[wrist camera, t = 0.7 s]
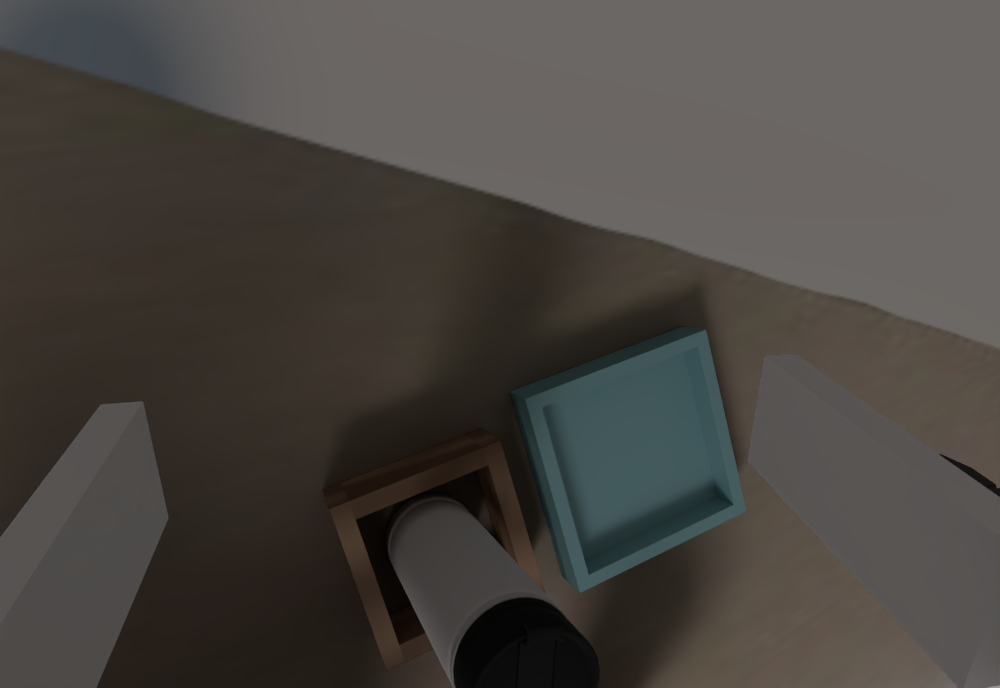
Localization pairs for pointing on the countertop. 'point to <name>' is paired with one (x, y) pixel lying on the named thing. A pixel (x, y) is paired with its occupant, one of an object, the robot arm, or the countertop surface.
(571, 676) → the travel mug
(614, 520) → the tray
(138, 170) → the countertop surface
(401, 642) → the open wooden box
